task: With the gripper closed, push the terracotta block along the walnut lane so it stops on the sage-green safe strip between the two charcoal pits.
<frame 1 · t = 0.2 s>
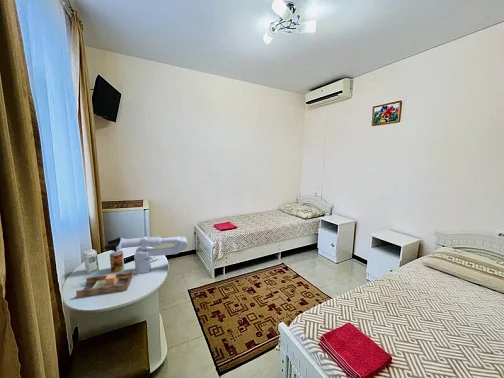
hand: (106, 245, 141), 21 cm above the table, tool horizontal, fingers open, 7 cm apart
syrup box: (92, 271, 149), on the table
canned food: (117, 269, 152), on the table
terracotta block: (111, 283, 132), point 2 cm above the table, touching trap lane
trap lane: (106, 286, 132), on the table
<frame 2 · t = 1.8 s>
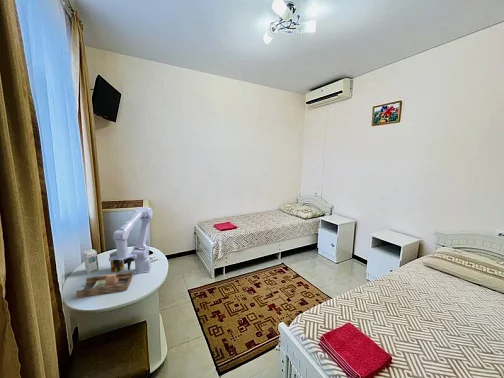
hand: (124, 270, 133), 9 cm above the table, tool pointing down, fingers open, 5 cm apart
nothing on the table moved.
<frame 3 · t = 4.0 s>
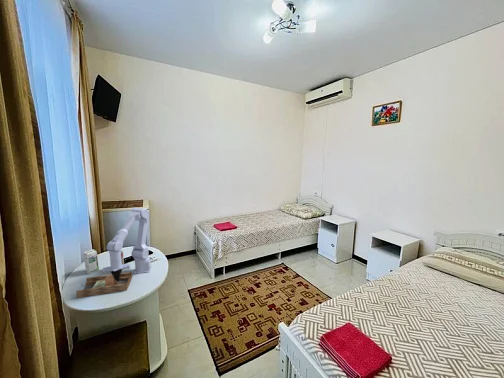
hand: (117, 280, 133), 3 cm above the table, tool pointing down, fingers closed
terracotta block: (111, 283, 132), point 2 cm above the table, touching gripper
everything else where it was.
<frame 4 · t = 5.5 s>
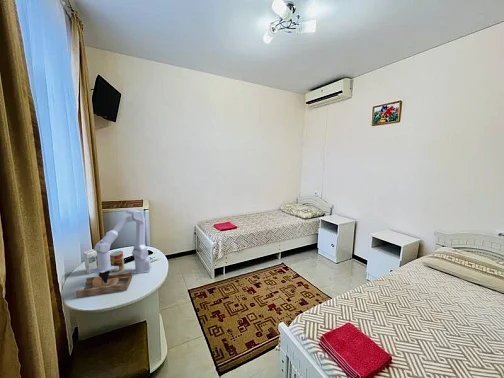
hand: (105, 282, 131), 3 cm above the table, tool pointing down, fingers closed
terracotta block: (98, 285, 130), point 2 cm above the table, touching gripper, trap lane
everything else where it was.
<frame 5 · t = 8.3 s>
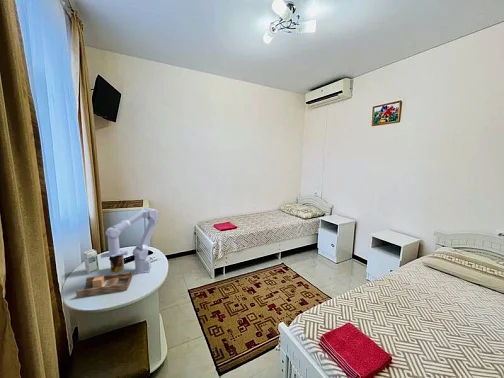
hand: (115, 266, 137), 9 cm above the table, tool pointing down, fingers closed
terracotta block: (98, 285, 130), point 2 cm above the table, touching trap lane
everything else where it was.
at the end: terracotta block 0.3 cm from the target spot, point 2.0 cm above the table; terracotta block tilted 0° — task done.
